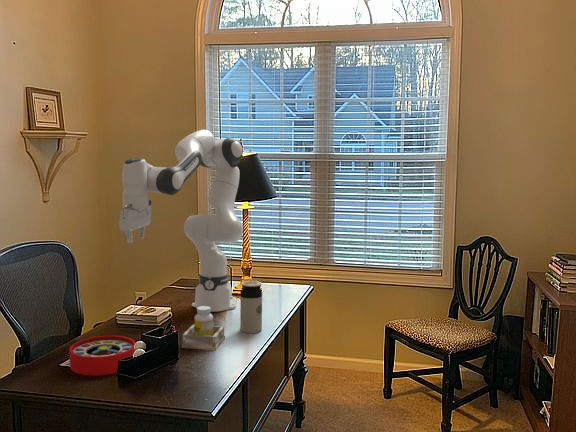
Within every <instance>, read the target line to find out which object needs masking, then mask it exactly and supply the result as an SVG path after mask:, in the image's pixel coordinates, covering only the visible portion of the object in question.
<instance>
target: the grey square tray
mask: <svg viewBox="0 0 576 432" xmlns="http://www.w3.org/2000/svg"><path fill="white" fill-rule="evenodd" d="M225 339H226V335H225V326H222V325H213V336H208V335H195V323H194V324H192V325H191V326H190V327H189V328H188V329H187V330H186V331H184V333H183V334H182V344H181V348H182V349H191V350H192V349H193V350H195V349H196V350H209V351H217V349H219V347H220V345H222V344H223V342H224V341H225Z"/></svg>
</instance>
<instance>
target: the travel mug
mask: <svg viewBox="0 0 576 432" xmlns="http://www.w3.org/2000/svg"><path fill="white" fill-rule="evenodd" d="M240 284H241V287H242V288H241V289H240V319H239V320H240V327H239V328H240V331H241V332H243V333H246V334H256V333H259V332H261V331H262V328H263V290H262V288H261V286H262V282H261V281H259V280H244V281H242V282H241V283H240Z"/></svg>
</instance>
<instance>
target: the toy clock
mask: <svg viewBox="0 0 576 432" xmlns="http://www.w3.org/2000/svg"><path fill="white" fill-rule="evenodd" d="M135 344H136V341H135V340H134V339H132V338H130V337H128V336H127V337H126V336H122V335H100V336H98V335H97V336H93V337H92V336H91V337H88V338H84V339H81V340H79V341H76V342H75V343H73V344H71V346H69V368H70V370H71V371H72V372H73V373H76V374H79V375H83V376H106V375H112V374H113V375H114V374H117V369H118V361H119V360H122V359H125V358H128V357H131V356H133V353H134V345H135ZM136 345H137V344H136Z"/></svg>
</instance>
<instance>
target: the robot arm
mask: <svg viewBox="0 0 576 432" xmlns="http://www.w3.org/2000/svg"><path fill="white" fill-rule="evenodd" d="M174 150H175V151H174V154H175V158H176V159H177V161H178V162H179V163H178V164H177V165H176V166H170V167H168V166H167V167H161V166H160V167H159V166H154V165H151V164H150V163H148V162H147V161H146V159H145V158H143V157H133V158H128V159H127V160H125V161H124V162H123V166H122V169H121V171H122V172H121V183H122V186H123V187H122V188H123V189H122V190H123V192H122V208H123V209H122V210H121V211H120V213H119V214H120V215H119V231H120V232H123V233H125V236H126V240H127V243H128V244H132V243H134V240H135V239H134V236H133V233H134V232H133V231H136V230H138V233H137V239H142V240H143V239H144V238H145V231H146V226H150V224H151V222H152V206H153V200H152V199H150V198H149V197H148V195H149V194H148V193H156V194H162V195H163V194H164V195H167V196H169V195H170V196H173V195H177V194H178V193H179V192H180V191H181V189H182V187H183V185H184V184H185V182H186V181H188V180H187V179H189V177H191V175H193V173H195V172H196V170H197V169H198V168H199V167H200V166H201V167H204V168H214V167H215V175H214V176H213V177H214V178H213V180H212V184H211V186H210V190H209V193H208V197H207V199H208V204H209V205H210V207H211V208H213V210H215V214H195V215H190V216H188V217H187V218H186V220H185V221H184V223H183V230H184V231H183V232H184V234H185V235H186V237H187V238H188V239H189V240H190V241H191V242H192V244H193V245H194V247H195V249H196V251H197V253H198V259H199V274H198V285H197V286H196V287H195V294H194V295H195V298H194V299H195V300H194V302H192V303H191V307H194V308H196V309H197V307H200V306H209V307H210V308H211V312H212V313H213V312H214V313H215V312H223V311H227V310H234V309H236V307H237V301H238V298H237V297H235V296H233V289H232V288H233V287H232V286H231V285H230V283H229V272H228V271H227V269H228V268H227V267H228V266H227V263H228V262H227V261H228V260H227V258H228V257H227V256H226V254H225V252H223V251H222V250H221V249H219V247H217V244H216V243H223V244H229V243H236V242H238V241H239V240H240V239H241V238H242V236H243V234H244V226H243V225H244V224H243V223H242V221H241V220H240V219H239V218H238V216H237V215H236V212H235V202H236V196H237V193H238V188H239V185H240V177H241V176H240V174H241V173H240V169H239V167H238V166H240V164H241V162H242V158H243V154H244V149H243V144H242V143H241V141H240V140H239V139H238V138H235V137H226V138H219V139H215V137H214V135H213V133H212V132H211V131H209V130H208V129H199V130H196V131H194V132H191V133H190V134H188V135H187V136H185V137H184V138H182V139H181V140H180V141H179V142H178V143H177V145H175V148H174ZM211 312H210V313H211Z"/></svg>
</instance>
